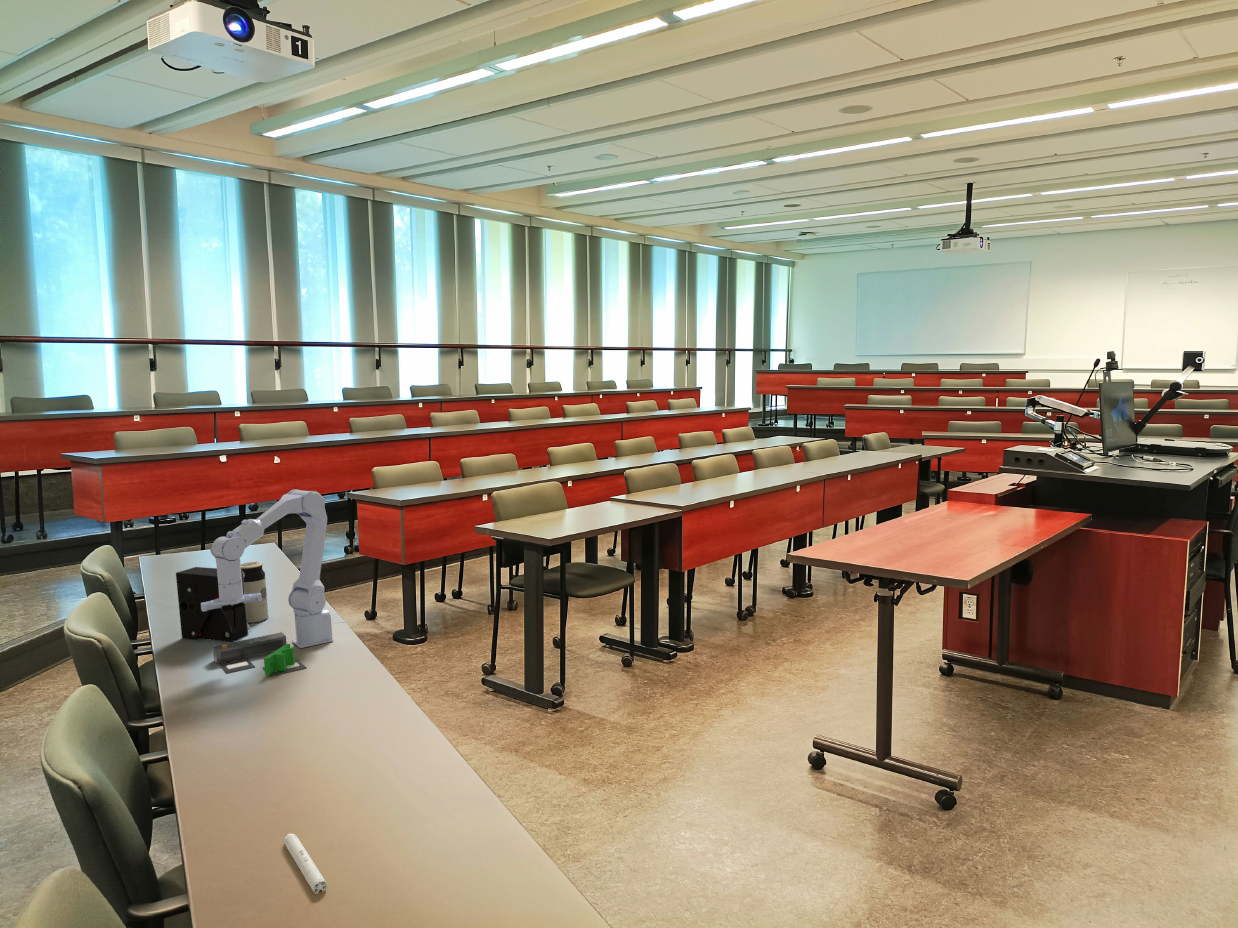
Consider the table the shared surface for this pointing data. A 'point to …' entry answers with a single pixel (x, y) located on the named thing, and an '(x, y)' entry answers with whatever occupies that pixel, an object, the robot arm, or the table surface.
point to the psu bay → (248, 648)
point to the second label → (290, 668)
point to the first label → (237, 666)
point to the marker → (305, 863)
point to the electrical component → (204, 624)
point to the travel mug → (255, 591)
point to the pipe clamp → (279, 659)
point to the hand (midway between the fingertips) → (234, 632)
